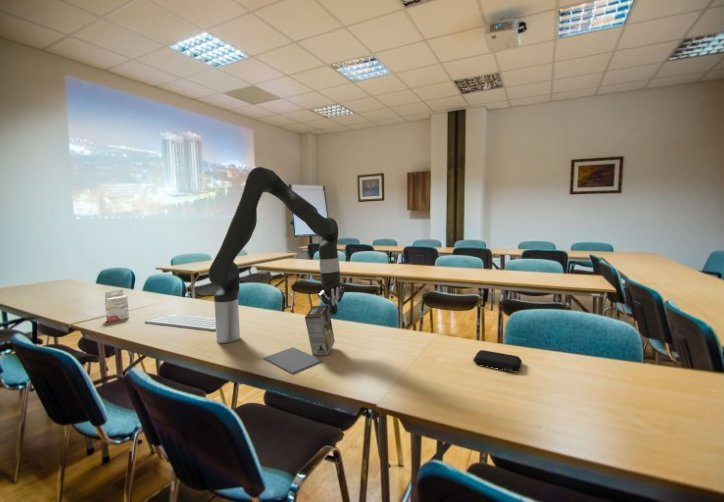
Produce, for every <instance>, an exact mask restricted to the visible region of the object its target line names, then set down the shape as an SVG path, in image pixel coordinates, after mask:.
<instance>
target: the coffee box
mask: <svg viewBox="0 0 724 502" xmlns="http://www.w3.org/2000/svg"><path fill="white" fill-rule="evenodd" d="M304 321H305V325H306V331H307V335H308V340H309V343H310V350H311V355H312V356H328V355H329V354H330V352H331V350H332V349H333V345H334V344H335V340H336V339H335V334H334V330H333V329H334V328H333V325H332V319H331V313H330V309H329V305H313V306H312V307H311V309H310V310H309V311H308V312H307V314H306V315H305V316H304Z"/></svg>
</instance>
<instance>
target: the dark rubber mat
mask: <svg viewBox="0 0 724 502" xmlns="http://www.w3.org/2000/svg"><path fill="white" fill-rule="evenodd" d="M262 359H263V360H264V361H267V362H269V363H271V364H272V365H274V366H276V367H278V368H280V369H282V370H283V371H285V372H287V373H289V374H291V375H294V374H296V373H298V372H301V371H304V370H306V369H308V368H310V367H311V368H312V367H313V366H315V365H318V364H319V363H323V359H321V358H319V357H316V356H315V355H313V354H309V353H308V352H305V351H302V350H301V349H298V348H296V347H294V346H292V347H289V348H287V349H284V350H281V351H277V352H276V353H275V352H274V353H272V354H269V355H266V356H263V358H262Z"/></svg>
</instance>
